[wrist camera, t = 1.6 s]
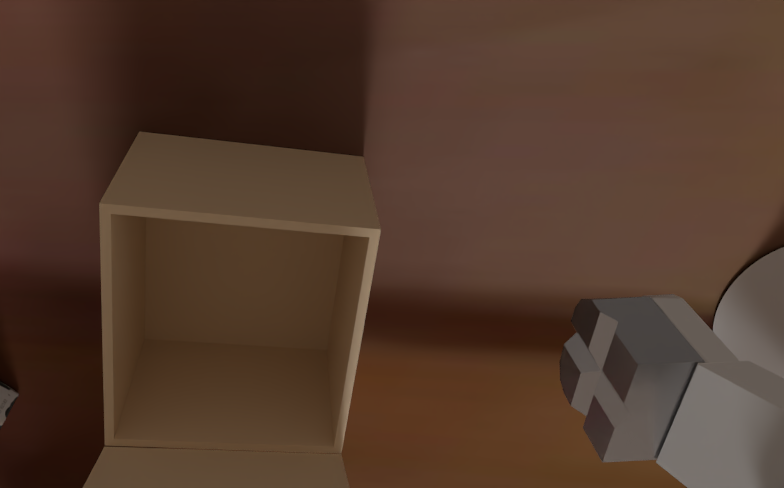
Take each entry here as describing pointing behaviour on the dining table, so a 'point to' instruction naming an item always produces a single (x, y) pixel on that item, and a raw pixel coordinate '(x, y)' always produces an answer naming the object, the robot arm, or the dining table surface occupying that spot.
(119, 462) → the carton flap
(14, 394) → the candy bar box
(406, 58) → the dining table surface
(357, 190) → the carton
